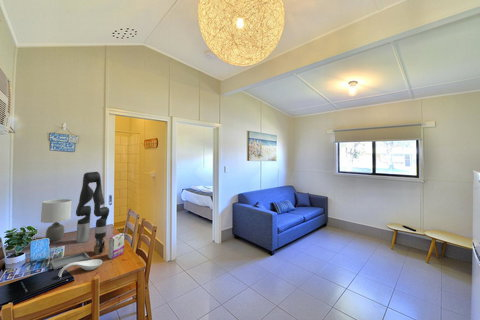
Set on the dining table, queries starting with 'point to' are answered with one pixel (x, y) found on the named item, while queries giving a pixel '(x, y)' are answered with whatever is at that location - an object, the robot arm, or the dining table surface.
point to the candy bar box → (116, 245)
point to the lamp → (55, 216)
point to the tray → (69, 260)
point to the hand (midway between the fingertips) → (99, 251)
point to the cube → (96, 249)
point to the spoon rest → (83, 265)
